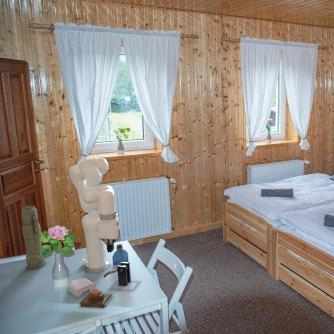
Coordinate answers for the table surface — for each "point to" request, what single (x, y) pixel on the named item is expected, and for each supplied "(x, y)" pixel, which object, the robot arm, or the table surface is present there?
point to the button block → (95, 300)
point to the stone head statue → (32, 237)
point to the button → (95, 293)
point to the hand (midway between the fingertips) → (110, 251)
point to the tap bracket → (124, 274)
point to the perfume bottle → (120, 255)
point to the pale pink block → (80, 286)
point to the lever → (114, 271)
